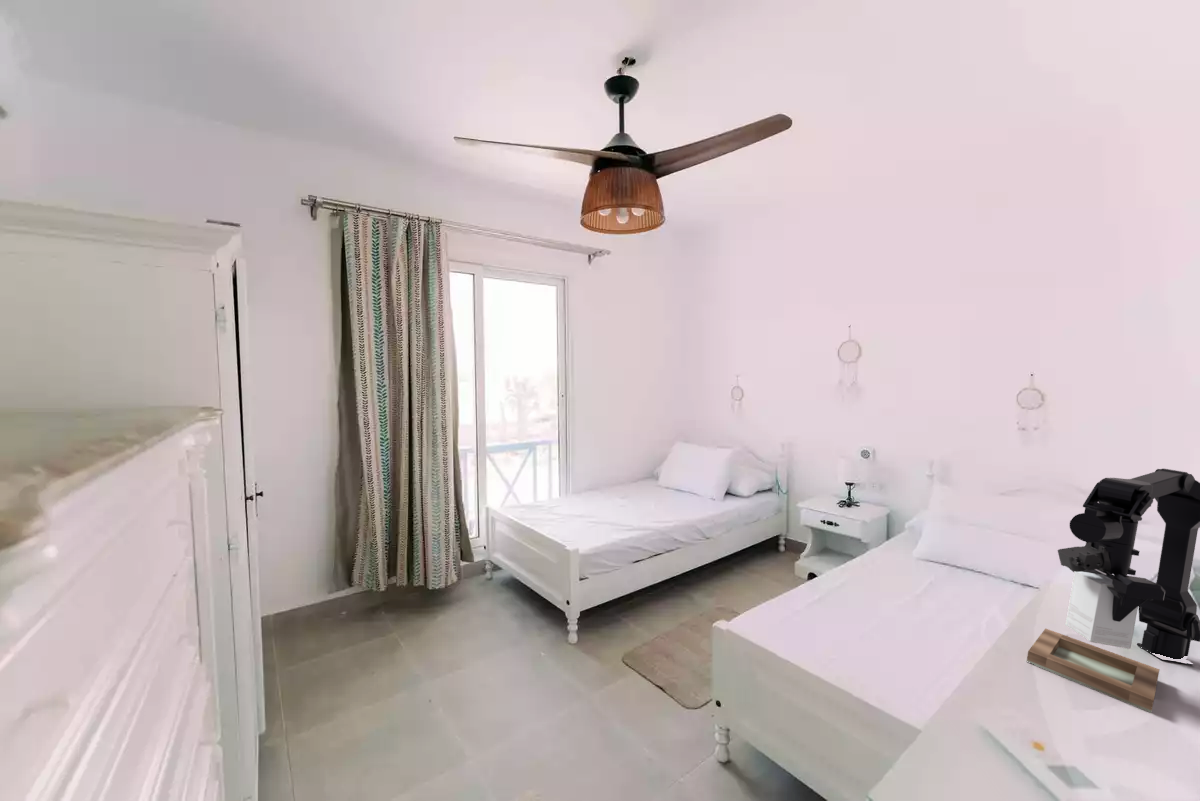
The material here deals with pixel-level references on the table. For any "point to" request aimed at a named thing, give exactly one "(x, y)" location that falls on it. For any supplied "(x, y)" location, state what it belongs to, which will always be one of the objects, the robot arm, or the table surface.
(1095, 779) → the table surface
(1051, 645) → the pocket board
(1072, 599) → the supplement box
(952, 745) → the table surface
